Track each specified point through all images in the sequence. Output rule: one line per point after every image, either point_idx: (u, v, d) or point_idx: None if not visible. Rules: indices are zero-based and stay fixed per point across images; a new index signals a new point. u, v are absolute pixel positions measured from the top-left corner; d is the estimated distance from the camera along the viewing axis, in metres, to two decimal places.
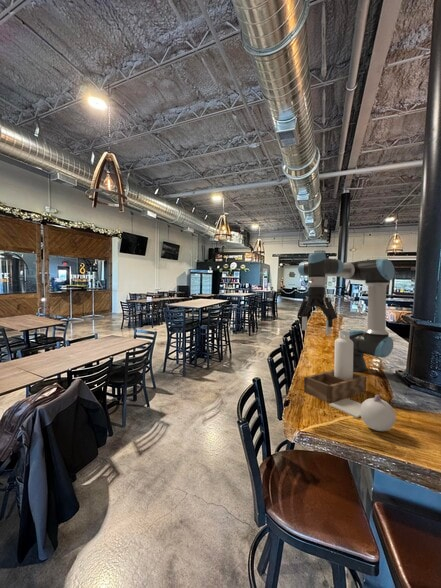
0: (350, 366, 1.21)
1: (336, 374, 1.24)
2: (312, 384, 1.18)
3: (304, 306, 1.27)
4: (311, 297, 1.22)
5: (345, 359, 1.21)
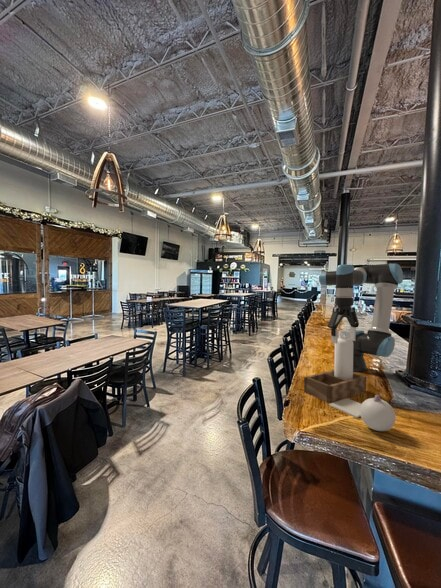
0: (350, 366, 1.21)
1: (336, 374, 1.24)
2: (312, 384, 1.18)
3: (353, 317, 1.28)
4: None
5: (345, 359, 1.21)
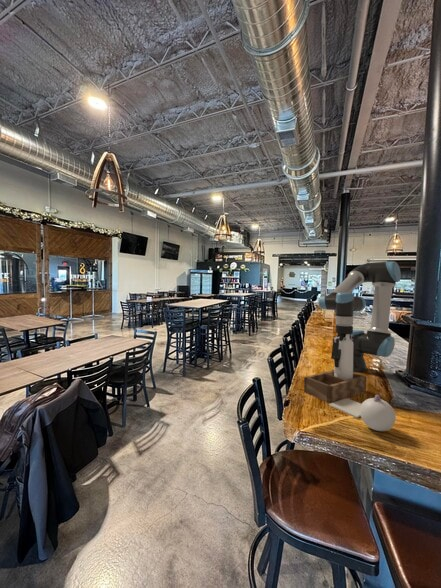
0: (350, 366, 1.21)
1: (336, 374, 1.24)
2: (312, 384, 1.18)
3: None
4: None
5: (345, 359, 1.21)
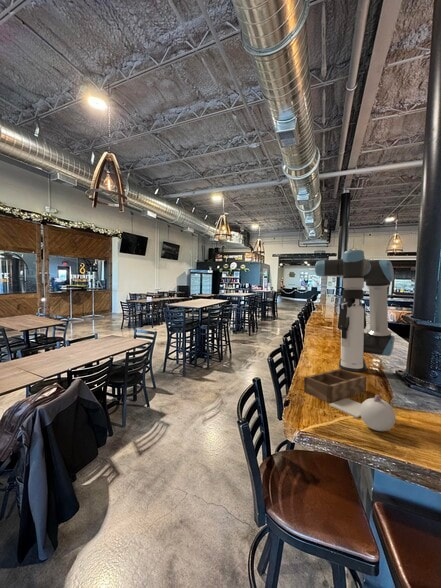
0: (360, 337, 1.02)
1: (343, 347, 1.04)
2: (312, 384, 1.18)
3: None
4: None
5: (354, 329, 1.01)
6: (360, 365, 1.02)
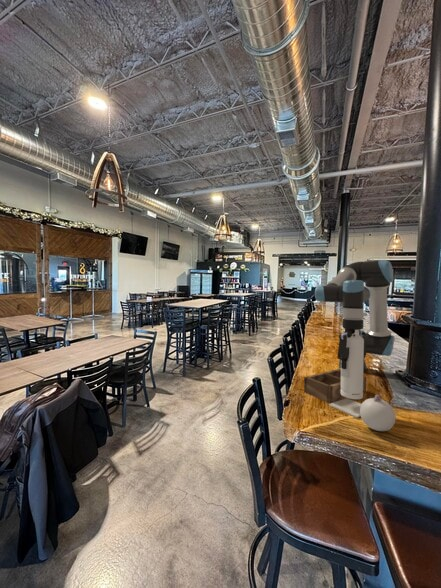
0: (360, 368, 1.02)
1: (343, 377, 1.04)
2: (312, 384, 1.18)
3: None
4: None
5: (354, 360, 1.01)
6: (360, 396, 1.02)
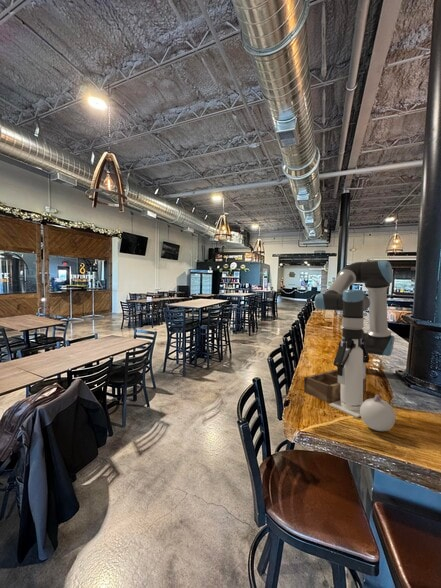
0: (360, 379, 1.02)
1: (343, 388, 1.05)
2: (312, 384, 1.18)
3: None
4: None
5: (354, 371, 1.02)
6: None
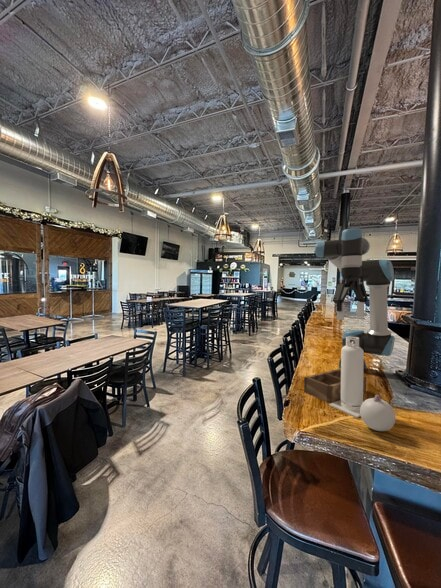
0: (360, 379, 1.02)
1: (343, 389, 1.05)
2: (312, 384, 1.18)
3: (361, 290, 1.11)
4: None
5: (354, 372, 1.02)
6: None
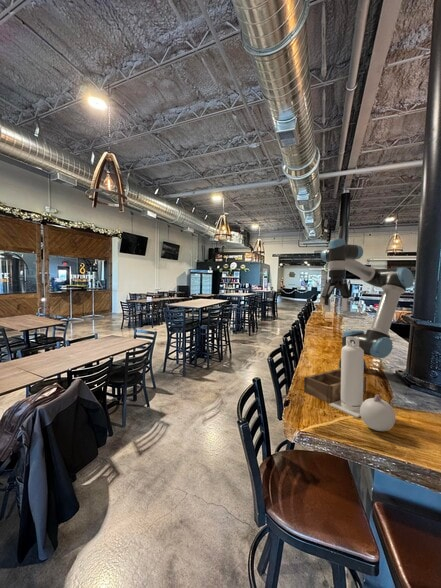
0: (360, 379, 1.02)
1: (343, 388, 1.05)
2: (312, 384, 1.18)
3: (345, 288, 1.37)
4: None
5: (354, 372, 1.02)
6: None
